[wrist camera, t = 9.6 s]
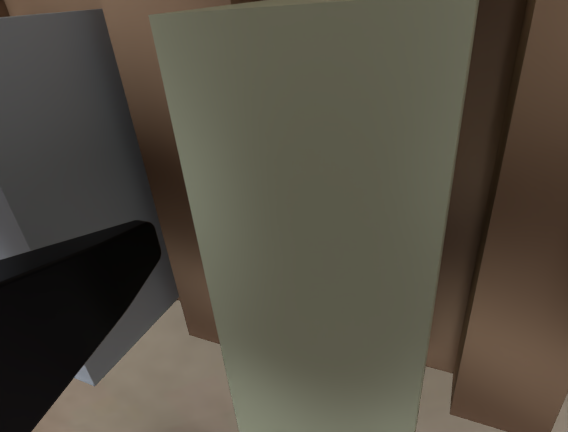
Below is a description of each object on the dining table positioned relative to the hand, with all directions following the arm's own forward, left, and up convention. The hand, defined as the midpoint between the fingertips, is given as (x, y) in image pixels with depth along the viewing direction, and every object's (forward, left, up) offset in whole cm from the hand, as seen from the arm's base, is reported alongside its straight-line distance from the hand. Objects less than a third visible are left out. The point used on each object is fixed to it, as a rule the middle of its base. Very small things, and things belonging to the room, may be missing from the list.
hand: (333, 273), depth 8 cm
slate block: (0, +9, -4) cm, 10 cm away
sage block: (0, 0, -4) cm, 4 cm away
